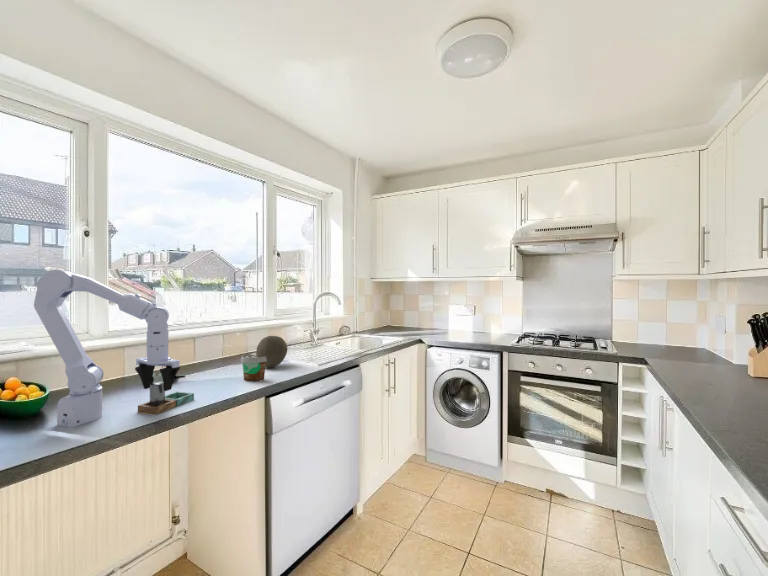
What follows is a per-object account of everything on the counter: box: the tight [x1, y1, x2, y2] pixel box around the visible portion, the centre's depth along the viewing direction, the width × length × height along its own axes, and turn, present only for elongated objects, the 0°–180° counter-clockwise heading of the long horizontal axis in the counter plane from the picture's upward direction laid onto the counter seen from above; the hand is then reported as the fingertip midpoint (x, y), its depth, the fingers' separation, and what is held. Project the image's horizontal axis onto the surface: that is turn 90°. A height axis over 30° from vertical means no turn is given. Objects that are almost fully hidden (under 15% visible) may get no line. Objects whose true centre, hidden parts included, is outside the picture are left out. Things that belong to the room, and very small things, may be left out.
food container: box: [240, 353, 267, 382], centre depth 149 cm, size 12×6×10 cm, turn 62°
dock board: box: [136, 391, 195, 416], centre depth 114 cm, size 16×7×3 cm, turn 166°
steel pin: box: [149, 382, 166, 407], centre depth 111 cm, size 4×4×8 cm
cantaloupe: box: [255, 335, 288, 369], centre depth 172 cm, size 14×14×15 cm
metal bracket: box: [152, 371, 186, 383], centre depth 146 cm, size 14×6×15 cm
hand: (157, 389), depth 111 cm, fingers open, 7 cm apart
